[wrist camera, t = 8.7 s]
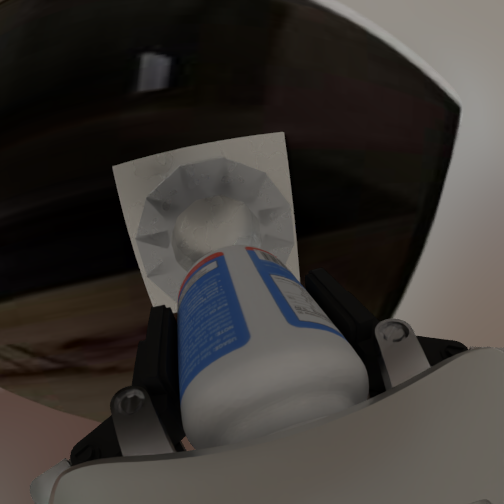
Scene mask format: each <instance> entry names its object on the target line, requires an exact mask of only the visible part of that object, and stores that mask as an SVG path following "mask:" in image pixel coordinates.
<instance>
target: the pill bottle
mask: <svg viewBox="0 0 504 504" xmlns="http://www.w3.org/2000/svg"><path fill="white" fill-rule="evenodd" d="M177 339H178V374H179V393H180V408H181V416H182V423H183V429H184V432H185V434H186V437H187V438H188V440H189V442H190V443H191V445H192V446H193V447H194V448H195V449H196V450H199V449H205V448H211V447H217V446H223V445H228V444H233V443H238V442H242V441H247V440H251V439H255V438H259V437H263V436H267V435H271V434H275V433H278V432H282V431H285V430H288V429H292V428H295V427H298V426H301V425H304V424H307V423H310V422H313V421H316V420H319V419H322V418H324V417H327V416H330V415H332V414H335V413H337V412H340V411H343V410H345V409H347V408H350V407H352V406H355V405H357V404H359V403H362V402H364V401H366V400H367V397H368V392H369V379H368V374H367V370H366V368H365V365H364V364H363V362H362V360H361V359H360V357H359V356H358V355H357V353H356V352H355V351H354V349H353V348H352V347H351V345H350V344H349V343H348V341H347V340H346V339H345V337H344V336H343V335H342V334H341V332H340V331H339V330H338V329H337V328H336V326H335V325H334V324H333V323H332V321H331V320H330V319H329V318H328V316H327V315H326V314H325V313H324V312H323V310H322V309H321V308H320V307H319V305H318V304H317V303H316V302H315V300H314V299H313V298H312V297H311V295H310V294H309V293H308V292H307V291H306V290H305V288H304V287H303V286H302V285H301V284H300V282H299V281H298V280H297V279H296V277H295V276H294V275H293V274H292V272H291V271H290V270H289V269H288V268H287V267H286V266H285V265H284V264H283V263H282V262H281V261H280V260H279V259H278V258H277V257H276V256H274V255H272V254H271V253H269V252H267V251H265V250H262V249H260V248H257V247H253V246H246V245H234V246H227V247H223V248H220V249H217V250H214V251H212V252H210V253H208V254H206V255H205V256H203V257H202V258H200V259H199V260H198V261H197V262H196V263H195V264H194V265H193V266H192V267H191V268H190V269H189V271H188V272H187V273H186V275H185V277H184V279H183V281H182V284H181V286H180V290H179V295H178V303H177Z"/></svg>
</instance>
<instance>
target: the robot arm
mask: <svg viewBox="0 0 504 504" xmlns="http://www.w3.org/2000/svg"><path fill="white" fill-rule="evenodd" d="M305 285H306V291H307V292H308V293H309V294H310V295H311V297H312V298H313V299H314V300H315V302H316V303H317V304H318V305H319V307H320V308H321V309H322V310H323V312H324V313H325V314H326V315H327V316H328V318H329V319H330V320H331V321H332V323H333V324H334V325H335V326H336V328H337V329H338V330H339V331H340V332H341V334H342V335H343V336H344V337H345V339H346V340H347V341H348V343H349V344H350V345H351V347H352V348H353V349H354V351H355V352H356V353H357V355H358V356H359V357H360V359H361V360H362V362H363V364H364V365H365V368H366V370H367V374H368V379H369V392H368V397H367V400H366V401H364V402H362V403H359V404H357V405H355V406H352V407H350V408H347V409H345V410H343V411H340V412H337V413H335V414H332V415H330V416H327V417H324V418H322V419H319V420H316V421H313V422H310V423H307V424H304V425H301V426H298V427H295V428H292V429H288V430H285V431H282V432H278V433H275V434H271V435H267V436H263V437H259V438H255V439H251V440H247V441H242V442H238V443H233V444H228V445H223V446H217V447H211V448H205V449H199V450H192V451H186V449H185V447H184V445H183V444H182V442H181V440H182V439H183V438H184V437H185V436H186V434H185V432H184V429H183V423H182V416H181V408H180V393H179V374H178V339H177V323H176V320H175V318H174V315H173V312H172V309H171V307H168V308H166V306H165V305H160V306H155V307H152V308H151V312H150V317H149V323H148V329H147V335H146V340H143V341H140V342H139V344H138V350H137V355H136V361H135V368H134V374H133V381H132V386H128V387H125V388H123V389H121V390H119V391H118V392H117V393H116V394H115V395H114V396H113V398H112V400H111V403H110V409H111V413H112V415H111V416H110V417H109V418H108V419H106V420H105V421H104V422H103V423H102V424H100V425H99V426H98V427H97V428H95V429H94V430H93V431H92V432H91V433H89V434H88V435H87V436H86V437H84V438H83V439H82V440H81V441H80V442H78V443H77V444H76V445H75V446H74V447H73V449H72V451H71V455H70V459H69V460H67V459H66V458H65V459H63V460H62V461H60V462H59V463H58V464H56V465H55V466H53V467H52V468H50V469H49V470H47V471H46V472H44V473H43V474H41V475H40V476H38V477H37V478H35V479H34V480H33V481H32V483H31V485H30V494H31V497H32V499H33V501H34V502H35V504H504V348H493V347H470V349H469V350H468V349H467V347H466V346H465V345H463V344H462V343H460V342H457V341H453V340H444V339H436V338H429V337H422V336H416V335H415V333H414V331H413V329H412V328H411V326H410V325H409V324H408V323H406V322H405V321H402V320H399V319H387V320H383V321H381V322H379V321H378V320H377V319H376V318H375V317H374V316H373V315H372V314H371V313H370V312H369V311H368V310H367V309H366V308H365V307H364V306H363V305H362V304H361V303H360V302H359V301H358V300H357V299H356V298H355V297H354V296H353V295H352V294H351V293H350V292H348V291H346V290H345V289H344V288H343V287H342V286H341V285H340V284H339V283H338V282H337V281H336V280H335V279H334V278H333V277H332V276H331V275H330V274H329V273H328V272H326V271H325V270H324V269H323V268H318V269H314V270H311V271H309V274H308V275H306V276H305Z"/></svg>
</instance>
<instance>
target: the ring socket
mask: <svg viewBox="0 0 504 504" xmlns="http://www.w3.org/2000/svg"><path fill="white" fill-rule="evenodd" d="M112 168H113V173H114V177H115V182H116V186H117V190H118V195H119V199H120V203H121V207H122V211H123V214H124V218H125V222H126V225H127V229H128V232H129V236H130V239H131V243H132V246H133V249H134V252H135V256H136V259H137V262H138V265H139V268H140V271H141V274H142V277H143V280H144V283H145V286H146V288H147V291H148V294H149V297H150V299H151V302H152V305H153V307H155V306H160V305H165V306H166V308H168V307H171V309H172V312H173V313H176V312H177V303H178V295H179V290H180V286H181V284H182V281H183V279H184V277H185V275H186V273H187V272H188V271H189V269H190V268H191V267H192V266H193V265H194V264H195V263H196V262H197V261H198V260H199V259H200V258H202V257H203V256H205V255H206V254H208V253H210V252H212V251H214V250H217V249H220V248H223V247H227V246H234V245H246V246H253V247H257V248H260V249H262V250H265V251H267V252H269V253H271V254H272V255H274V256H276V257H277V258H278V259H279V260H280V261H281V262H282V263H283V264H284V265H285V266H286V267H287V268H288V269H289V270H290V271H291V272H292V274H293V275H294V276H295V277H296V279H297V280H298V281H299V282H300V274H299V262H298V250H297V239H296V229H295V219H294V209H293V200H292V191H291V183H290V175H289V167H288V159H287V151H286V144H285V137H284V132H278V133H269V134H261V135H254V136H247V137H240V138H233V139H227V140H221V141H216V142H210V143H205V144H200V145H195V146H190V147H185V148H181V149H176V150H172V151H168V152H163V153H159V154H155V155H151V156H147V157H144V158H140V159H136V160H133V161H129V162H126V163H122V164H119V165H115V166H112Z"/></svg>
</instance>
